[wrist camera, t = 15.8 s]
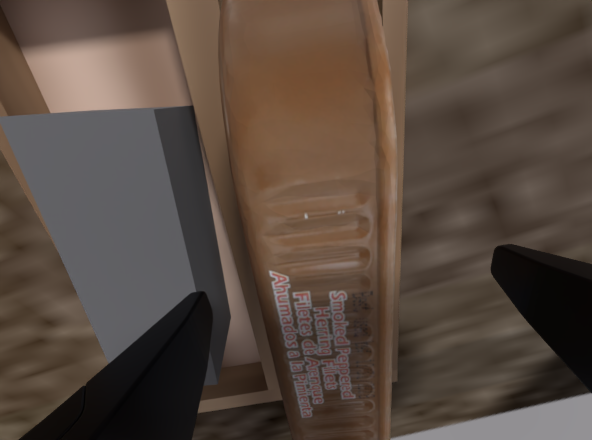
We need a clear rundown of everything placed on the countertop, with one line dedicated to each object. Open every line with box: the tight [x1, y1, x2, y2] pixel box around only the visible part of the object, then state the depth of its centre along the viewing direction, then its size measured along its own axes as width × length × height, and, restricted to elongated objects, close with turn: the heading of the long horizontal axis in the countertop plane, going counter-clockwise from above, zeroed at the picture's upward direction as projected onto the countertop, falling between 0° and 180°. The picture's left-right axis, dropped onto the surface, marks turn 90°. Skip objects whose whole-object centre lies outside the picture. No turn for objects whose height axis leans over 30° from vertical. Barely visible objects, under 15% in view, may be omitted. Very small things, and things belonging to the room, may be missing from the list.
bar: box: [0, 106, 231, 386], centre depth 11 cm, size 11×4×4 cm, turn 3°
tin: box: [218, 0, 398, 440], centre depth 9 cm, size 15×3×8 cm, turn 7°
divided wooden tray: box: [0, 0, 408, 413], centre depth 13 cm, size 14×21×2 cm
